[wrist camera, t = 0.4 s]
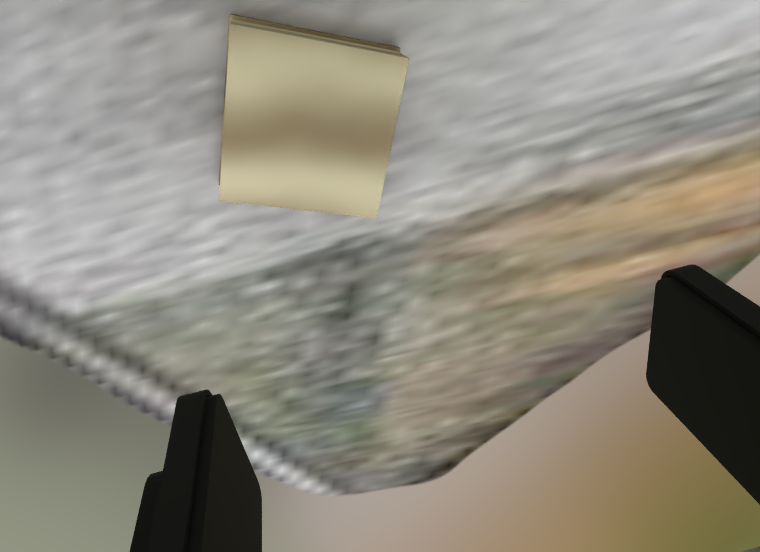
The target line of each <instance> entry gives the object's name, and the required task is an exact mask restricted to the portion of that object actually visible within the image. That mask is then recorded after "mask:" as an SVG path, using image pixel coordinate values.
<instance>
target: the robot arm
mask: <svg viewBox="0 0 760 552" xmlns="http://www.w3.org/2000/svg"><path fill="white" fill-rule="evenodd" d="M646 378H647V382H648V385H649V387H650V389H651V390H652V391H653V393H655V395H656V396H657V397H658V398H659V399H660V400H661V401H662V402H663V403H664V404H665V405H666V406H667V407H668V408H669V409H670V410H671V411H672V413H673V414H674V415H675V416H676V417H677V418H678V419H679V420H680V421H681V422H682V423H683V424H684V425H685V426H686V427H687V428H688V429H689V430H690V432H692V434H693V435H694V436H695V437H696V438H697V439H698V440H699V441H700V442H701V443H702V444H703V445H704V446H705V447H706V448H707V449H708V450H709V452H711V454H713V456H714V457H715V458H716V459H717V460H718V461H719V462H720V463H721V464H722V465H723V466H724V467H725V468H726V469H727V471H728V472H729V473H730V474H731V475H732V476H733V477H734V478H735V479H736V480H737V481H738V482H739V483H740V484H741V485H742V486H743V487H744V488H745V489H746V491H747V492H748V493H749V494H750V495H751V496H752V497H753V498H754V499H755V500H756V501H757V502H758V503H759V504H760V307H759V306H758V305H757V304H755V303H753V302H752V301H750V300H749V299H747V298H746V297H744V296H743V295H741V294H740V293H738V292H737V291H735V290H734V289H732V288H731V287H729V286H728V285H726V284H725V283H723V282H722V281H720V280H719V279H717V278H715V277H714V276H712V275H711V274H709V273H708V272H706V271H705V270H703V269H702V268H700V267H699V266H696V265H687V266H683V267H680V268H676V269H672V270H668V271H666V272H664V273H663V275H662V278H661V279H660V280H658V282H657V283H656V287H655V296H654V306H653V315H652V325H651V334H650V343H649V353H648V362H647V372H646ZM130 552H262V497H261V490H260V486H259V483H258V480H257V477H256V475H255V473H254V470H253V468H252V466H251V463H250V461H249V459H248V456H247V454H246V452H245V449H244V447H243V445H242V442H241V440H240V437H239V435H238V433H237V430H236V428H235V426H234V423H233V421H232V419H231V416H230V414H229V412H228V409H227V407H226V405H225V402H224V400H223V398H222V396H221V395H220V394H217V395H213V396H212V394H211V392H210V391H209V390H203V391H199V392H195V393H191V394H187V395H183V396H180V397H179V398H178V399H177V402H176V408H175V413H174V418H173V423H172V428H171V433H170V438H169V443H168V448H167V453H166V459H165V464H164V468H163V471H161V472H157V473H153V474H151V475H150V476H149V477H148V478H147V481H146V483H145V487H144V491H143V495H142V500H141V504H140V509H139V513H138V517H137V522H136V526H135V531H134V535H133V539H132V544H131V548H130ZM743 552H760V547H757V548H754V549H750V550H747V551H743Z"/></svg>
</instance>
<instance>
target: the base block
mask: <svg viewBox="0 0 760 552" xmlns="http://www.w3.org/2000/svg"><path fill="white" fill-rule="evenodd" d="M399 52H400V48H398V47H394V46H389V45H384V44H379V43H374V42H368V41H363V40H358V39H353V38H348V37H343V36H338V35H333V34H328V33H323V32H318V31H313V30H308V29H303V28H298V27H292V26H287V25H282V24H277V23H272V22H267V21H262V20H257V19H252V18H247V17H242V16H237V15H232V14H230V16H229V32H228V48H227V64H226V80H225V96H224V112H223V128H222V144H221V160H220V176H219V185H220V191H219V201H226V202H235V203H244V204H253V205H262V206H271V207H280V208H289V209H298V210H307V211H316V212H325V213H334V214H343V215H352V216H361V217H370V218H377V214H378V209H379V204H380V199H381V194H382V190H383V185H384V180H385V175H386V170H387V165H388V160H389V155H390V150H391V145H392V140H393V136H394V131H395V126H396V121H397V116H398V111H399V106H400V101H401V96H402V91H403V87H404V82H405V77H406V72H407V67H408V62H409V58H408V57H406V56H404V55H402V54H401V53H399Z"/></svg>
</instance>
